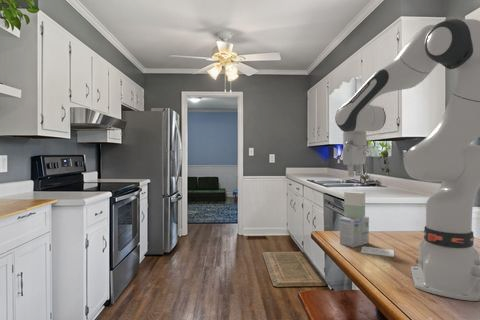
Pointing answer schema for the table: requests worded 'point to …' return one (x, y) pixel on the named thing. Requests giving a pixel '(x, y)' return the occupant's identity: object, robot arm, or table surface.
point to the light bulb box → (354, 231)
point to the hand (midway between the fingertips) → (354, 176)
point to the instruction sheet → (377, 251)
